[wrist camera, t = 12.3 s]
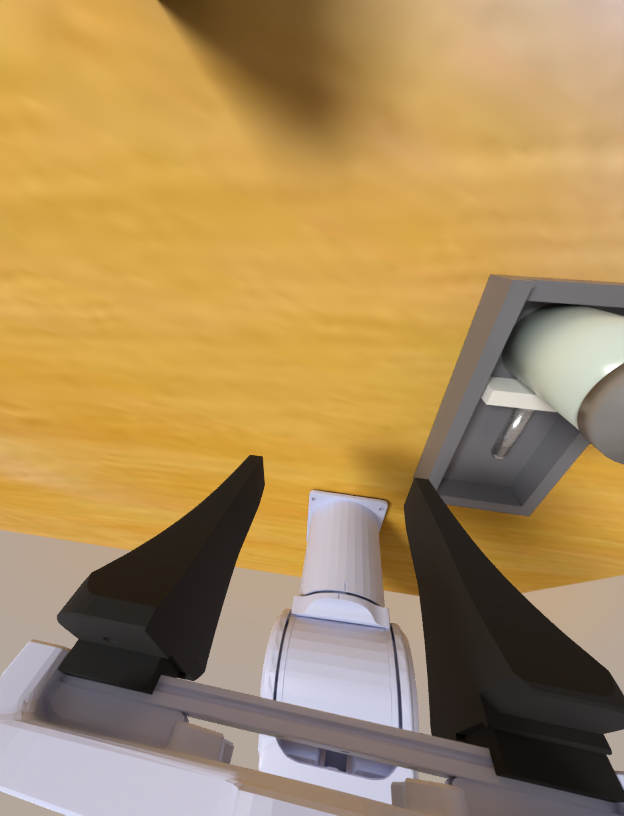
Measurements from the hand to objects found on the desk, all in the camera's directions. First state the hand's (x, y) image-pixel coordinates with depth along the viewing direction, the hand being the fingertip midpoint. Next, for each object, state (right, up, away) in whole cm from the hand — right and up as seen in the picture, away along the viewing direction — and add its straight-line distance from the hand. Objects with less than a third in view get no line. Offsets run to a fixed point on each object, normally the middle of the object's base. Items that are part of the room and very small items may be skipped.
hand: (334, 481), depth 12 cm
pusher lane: (+13, +4, +7) cm, 15 cm away
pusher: (+13, +3, +6) cm, 15 cm away
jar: (+13, +8, +3) cm, 16 cm away
